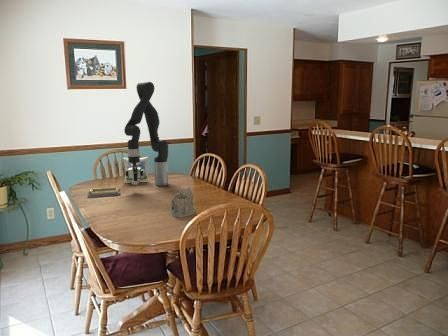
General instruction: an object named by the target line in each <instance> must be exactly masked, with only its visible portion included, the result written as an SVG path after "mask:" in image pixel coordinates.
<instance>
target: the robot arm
mask: <svg viewBox="0 0 448 336" xmlns="http://www.w3.org/2000/svg"><path fill="white" fill-rule="evenodd" d="M136 93H137V96H138V97H139V102H137V104H136V105H135V107H134V108H133V111H132V113H131V116H130V119H129V120H128V121H127V122H126V124H125V126H124V134H125V135H126V136H127V137H128V136H129V137H131V139H128V140H127V158H128V161H129V163H132V165H131V167H132V171H133V175H134V181H137V175H138V174H137V172H138V171H137V169H138V165H137V164H136V163H138V162H140V158H141V155H140V146H139V142H140V137H141V128H140V126H138V125H140V124H141V123H142V119H143V116H144V118H145V122H146V126H147V131H148V133H149V135H148V136H149V140H150V146H151V149H152V151H154V152H156V153H157V156H155V157H154V158H153V159H154V160H153V161H154V164H153V165H154V184H155V186H157V187H158V186H159V187H160V186H168V185H169V171H168V158H169V144H168V142H167V140H165V139H160V137H159V134H158V132H159V131H158V130H159V128H160V127H159V126H160V118H159V113H158V111H157V109H156V108H155V107H154V105H153V104H152V103H151V99H152V96H153V94H154V93H155V84H154V83H153V82H152V81H139V82H138V83H136ZM134 172H136V173H134Z"/></svg>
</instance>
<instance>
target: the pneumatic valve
mask: <svg viewBox="0 0 448 336" xmlns="http://www.w3.org/2000/svg"><path fill="white" fill-rule="evenodd" d="M137 171H138V172H137V174H138V175H137V178H142V176H144V170H142V168H138V169H137ZM134 173H136V172H134ZM126 176H127V177H128V178H133V179H132V180H131V181H130V183H131V184H132V185H134V186H135V185H139V184H140V182H141V181H140V180H138V179H137V181H134V175H133V171H132V168H128V169H127V170H126Z"/></svg>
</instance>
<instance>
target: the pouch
mask: <svg viewBox="0 0 448 336" xmlns="http://www.w3.org/2000/svg"><path fill="white" fill-rule="evenodd" d="M122 159H123V164H124V169H125V172H124V182H123V184H125V183H129V182H131V180H132V179H133V178H128V177H127V176H126V170H127V169H128V168H132V167H131V165H132V163H129V161H128V157H125V156H124V157H123V156H122ZM148 159H149V155H148V156H145V157H140V162H138V163H136V164H137V165H138V168H142V170H144V176H142V178H137V179H138V180H140V182H142V181H143V182H150V179H149V176H148V161H149V160H148Z"/></svg>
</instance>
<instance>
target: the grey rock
mask: <svg viewBox="0 0 448 336" xmlns="http://www.w3.org/2000/svg"><path fill="white" fill-rule="evenodd" d="M170 203H171V204H170V206H171V208H170V209H169V212H170V216H172V217H174V218H185V217H190V216H192V215H194V214H195V213H196V210H195V209H196V208H195V202H194V194H193V192H192V189H191V186H187V189H184V188H179V192H178V193H176V194H175V196H174V197H173V199H172V200H171V201H170Z"/></svg>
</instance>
